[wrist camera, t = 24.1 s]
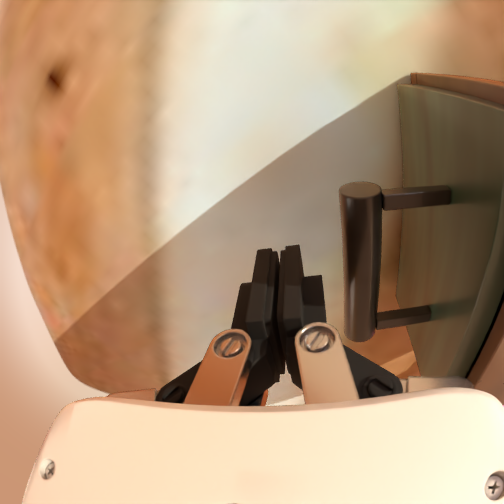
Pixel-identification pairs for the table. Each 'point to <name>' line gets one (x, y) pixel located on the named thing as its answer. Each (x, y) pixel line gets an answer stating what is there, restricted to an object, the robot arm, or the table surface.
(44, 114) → the table surface
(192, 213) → the table surface
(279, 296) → the robot arm
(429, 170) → the drawer
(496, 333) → the cabinet
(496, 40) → the table surface
